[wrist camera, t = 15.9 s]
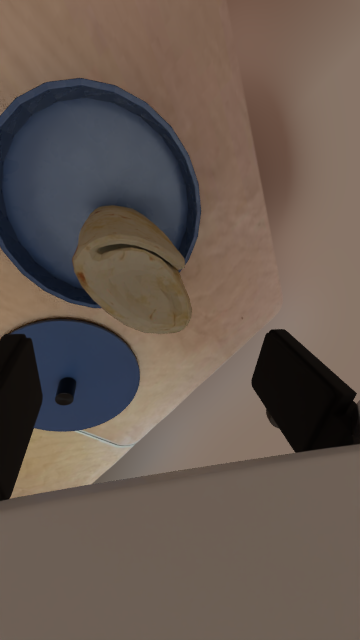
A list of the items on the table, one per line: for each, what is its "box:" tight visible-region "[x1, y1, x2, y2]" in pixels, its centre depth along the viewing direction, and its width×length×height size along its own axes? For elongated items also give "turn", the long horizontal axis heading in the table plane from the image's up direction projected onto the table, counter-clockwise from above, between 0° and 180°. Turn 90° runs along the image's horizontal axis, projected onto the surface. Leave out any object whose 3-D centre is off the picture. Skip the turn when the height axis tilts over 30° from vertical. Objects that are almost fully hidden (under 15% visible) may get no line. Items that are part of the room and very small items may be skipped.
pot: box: [0, 78, 201, 308], centre depth 29 cm, size 22×22×4 cm
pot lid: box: [9, 319, 140, 431], centre depth 40 cm, size 23×23×5 cm
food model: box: [72, 205, 192, 334], centre depth 24 cm, size 10×7×20 cm
